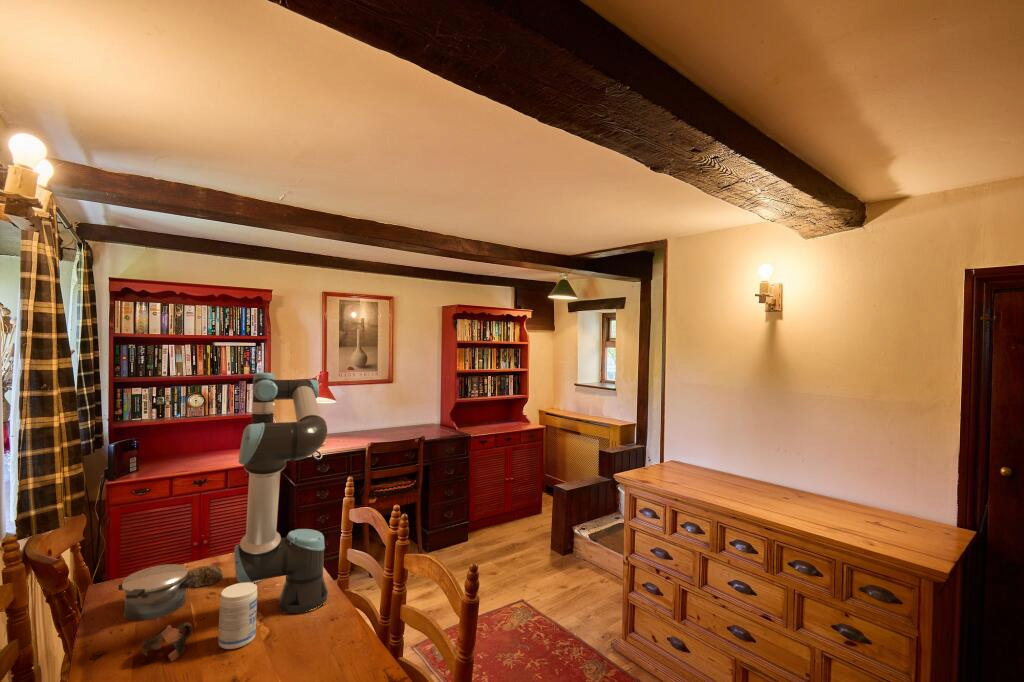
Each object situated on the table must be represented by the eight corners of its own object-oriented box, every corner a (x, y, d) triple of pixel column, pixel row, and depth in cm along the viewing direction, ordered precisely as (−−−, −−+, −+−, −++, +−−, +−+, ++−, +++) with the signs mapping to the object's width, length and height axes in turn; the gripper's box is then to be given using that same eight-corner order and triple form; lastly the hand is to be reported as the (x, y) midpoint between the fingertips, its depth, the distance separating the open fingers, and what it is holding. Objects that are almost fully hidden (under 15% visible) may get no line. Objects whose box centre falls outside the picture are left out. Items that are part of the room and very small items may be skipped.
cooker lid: (162, 597, 144) (162, 593, 144) (100, 599, 142) (100, 595, 142) (197, 567, 165) (197, 563, 165) (143, 568, 163) (144, 564, 163)
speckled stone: (180, 579, 175) (181, 565, 175) (219, 569, 183) (220, 556, 184) (186, 592, 166) (187, 578, 166) (227, 582, 174) (227, 568, 174)
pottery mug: (163, 671, 126) (147, 644, 126) (145, 676, 130) (130, 650, 130) (205, 635, 137) (191, 610, 137) (188, 641, 141) (174, 617, 141)
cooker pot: (176, 619, 149) (177, 590, 149) (102, 622, 146) (104, 592, 147) (204, 591, 166) (205, 565, 166) (138, 593, 163) (140, 567, 164)
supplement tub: (256, 644, 138) (259, 592, 138) (218, 654, 133) (220, 601, 133) (253, 627, 146) (256, 578, 146) (217, 636, 141) (219, 586, 141)
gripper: (278, 413, 183) (275, 475, 183) (268, 410, 193) (266, 468, 193) (256, 415, 178) (253, 478, 178) (247, 411, 188) (245, 471, 188)
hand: (260, 473), depth 185 cm, fingers closed
